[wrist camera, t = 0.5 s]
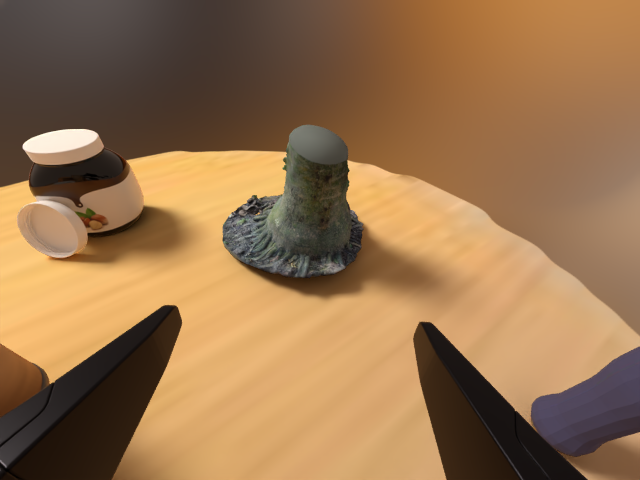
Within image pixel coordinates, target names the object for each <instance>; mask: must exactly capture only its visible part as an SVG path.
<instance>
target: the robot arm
mask: <svg viewBox="0 0 640 480" xmlns="http://www.w3.org/2000/svg"><path fill="white" fill-rule="evenodd" d="M181 326H182V319H181V316H180V313H179V310H178V307H177V306H175V305H164V306H162V307H161V308H159V309H158V310H157V311H155V312H154V313H152V314H151V315H149V316H148V317H146V318H145V319H144V320H142V321H141V322H139V323H138V324H136V325H135V326H133V327H132V328H131V329H129V330H128V331H126V332H125V333H123V334H122V335H121V336H119V337H118V338H116V339H115V340H113V341H112V342H110V343H109V344H108V345H106V346H105V347H103V348H102V349H100V350H99V351H97V352H96V353H95V354H93V355H92V356H90V357H89V358H87V359H86V360H84V361H83V362H82V363H80V364H79V365H77V366H76V367H74V368H73V369H71V370H70V371H69V372H67V373H66V374H64V375H63V376H61V377H60V378H58V379H57V380H56V381H55V383H51V384H50V385H48V386H47V387H45V388H44V389H42V390H41V391H40V392H38V393H37V394H35V395H34V396H32V397H31V398H29V399H28V400H26V401H25V402H23V403H22V404H20V405H19V406H17V407H16V408H14V409H13V410H11V411H10V412H8V413H6V414H5V415H3V416H2V417H0V480H112V478H113V475H114V473H115V471H116V469H117V467H118V465H119V463H120V461H121V459H122V457H123V455H124V453H125V451H126V449H127V447H128V445H129V443H130V441H131V439H132V437H133V435H134V432H135V430H136V428H137V426H138V424H139V422H140V420H141V418H142V416H143V414H144V412H145V410H146V408H147V406H148V404H149V402H150V400H151V398H152V396H153V394H154V392H155V390H156V387H157V385H158V383H159V381H160V379H161V377H162V375H163V373H164V371H165V369H166V367H167V364H168V362H169V359H170V356H171V354H172V351H173V348H174V345H175V343H176V340H177V337H178V334H179V332H180V329H181ZM413 341H414V348H415V354H416V360H417V366H418V372H419V378H420V383H421V387H422V391H423V395H424V399H425V402H426V406H427V410H428V413H429V417H430V421H431V424H432V428H433V432H434V435H435V439H436V443H437V446H438V450H439V454H440V457H441V461H442V465H443V468H444V472H445V475H446V479H447V480H587V479H586V478H585V477H584V476H583V475H582V474H581V473H580V472H579V471H578V470H577V469H575V468H574V467H573V466H572V465H571V464H570V463H569V462H568V461H567V460H566V459H565V458H564V457H563V456H561V455H560V454H559V453H558V452H557V451H556V450H555V449H554V448H553V447H552V446H551V445H550V444H549V443H548V442H547V441H546V440H545V439H544V438H543V437H542V436H541V435H540V434H539V433H538V432H537V431H536V430H535V429H534V428H533V427H532V426H531V425H530V424H529V423H528V422H527V421H526V420H525V419H524V418H523V417H522V416H521V415H520V414H519V413H518V412H517V411H515V409H514V408H513V407H512V406H511V405H510V404H509V403H508V402H507V401H506V400H505V398H504V397H503V396H502V395H501V394H500V393H499V392H498V391H497V390H496V389H495V388H494V387H493V386H492V385H491V384H490V383H489V382H488V381H487V380H486V379H485V378H484V377H483V376H482V375H481V374H480V372H479V371H478V370H477V369H476V368H475V367H474V366H473V365H472V364H471V363H470V362H469V361H468V360H467V359H466V358H465V357H464V356H463V355H462V354H461V353H460V352H459V351H458V350H457V349H456V348H455V347H454V345H453V344H452V343H451V342H450V341H449V340H448V339H447V338H446V337H445V336H444V335H443V334H442V333H441V332H440V331H439V330H438V329H437V328H436V327H435V326H434V325H433V324H432V323H430V322H420V323H419V324H418V326H417V329H416V331H415V334H414V338H413Z"/></svg>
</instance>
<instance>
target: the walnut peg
mask: <svg viewBox="0 0 640 480" xmlns="http://www.w3.org/2000/svg"><path fill="white" fill-rule="evenodd" d="M48 385H49V378H48V376H47V374H46V372H45V371H44V370H43V369H42V368H40V367H39V366H37V365H36V364H34V363H31V362H29V361H27V360H26V359H24V358H23V357H21V356H19V355H18V354H16V353H14V352H13V351H11V350H10V349H8V348H6V347H5V346H3V345H2V344H0V417H2V416H3V415H5V414H6V413H8V412H10V411H11V410H13V409H14V408H16V407H17V406H19V405H20V404H22V403H23V402H25V401H26V400H28V399H29V398H31V397H32V396H34V395H35V394H37V393H38V392H40V391H41V390H42V389H44V388H45V387H47V386H48Z"/></svg>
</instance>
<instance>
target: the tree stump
mask: <svg viewBox="0 0 640 480" xmlns="http://www.w3.org/2000/svg"><path fill="white" fill-rule="evenodd" d="M286 152H287V154H286V156H287V157H285V158H284V159H283V161H284V162H285V164H286V165H284V167H283V170H286V171H287V173H286V181H285V186H284V193H283V195H278V196H270V197H266V196H265V197H263V198H260V199H258V198H257V195H253V196H252V198H250V199H248V200H247V203H246V204H243V205H242V206H240V207H239V208H238V209H237V210H236V211H234V212H232V213H231V214H230V216H229V217H228V219H227V220H226V222H225V223H224V224H223V243H224V246H225V248H226V249H227V250H228V251H229V252H230V254H231V255H232V256H233V257H235V258H236V259H238V260H240V261H242V262H244V263H246V264H248V265H250V266H253V267H256V268H258V269H261V270H263V271H266V272H269V273H273V274H281V275H282V276H285V277H296V278H310V277H318V276H320V275H332V274H335V273H337V272H339V271H341V270H343V269H345V268H346V266H347V265H348V264H349V263H351V262H354V260H355V258H356V257H357V253H358V251H359V250H360V249H361V238H362V231H363V230H364V229H363V228H362V225H363V223H361V222H359V221H358V216H357V215H356V214H355V212H354V211H353V210H350V207H349V204H348V202H347V200H346V192H347V190H348V187H349V180H348V172H349V168H348V164H347V159H348V148H347V146H346V145H345V143H344V141H343V140H342V139H341V138H340V137H339V136H337V135H336V134H335V133H333V132H332V131H330V130H328V129H325V128H322V127H318V126H313V125H302V126H300V127H298V128H296V129H295V130H294V131H293V132H292V133H291V134H290V135H289V143H288V146H287V149H286ZM258 212H259V213H261V214H258ZM256 214H258V215H256Z"/></svg>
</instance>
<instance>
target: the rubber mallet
mask: <svg viewBox="0 0 640 480" xmlns="http://www.w3.org/2000/svg"><path fill="white" fill-rule="evenodd" d="M531 423H532V425H533V428H534V429H535V430H536V431H537V432H538V433H539V434H540V435H541V436H542V437H543V438H544V439H545V440H546V441H547V442H548V443H549V444H550V445H551V446H552V447H553V448H554V449H556V450H558V451H560V452H562V453H564V454H567V455H571V456H575V457H577V456H581V455H585V454H589V453H592V452H594V451H595V450H596V449H597V448H598V447H600V446H601V445H602V444H603V443H605V442H607V441H610V440H614V439H617V438H621V437H624V436H628V435H631V434H634V433H638V432H640V347H638V348H635V349H633V350H631V351H629V352H627V353H625V354H623V355H621V356H619V357H618V358H616V359H614V360H613V361H612V362H610V363H609V364H608V365H607V366H605V367H604V368H603V369H602V370H601V371H599V372H598V373H597V374H596V375H594V376H593V377H591V378H590V379H588V380H586V381H584V382H582V383H580V384H578V385H575V386H573V387H571V388H569V389H567V390H565V391H563V392H561V393H558V394H550V395H545V396H541V397H539V398H537V399H536V400H535V401H534V402H533V403H532V409H531Z"/></svg>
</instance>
